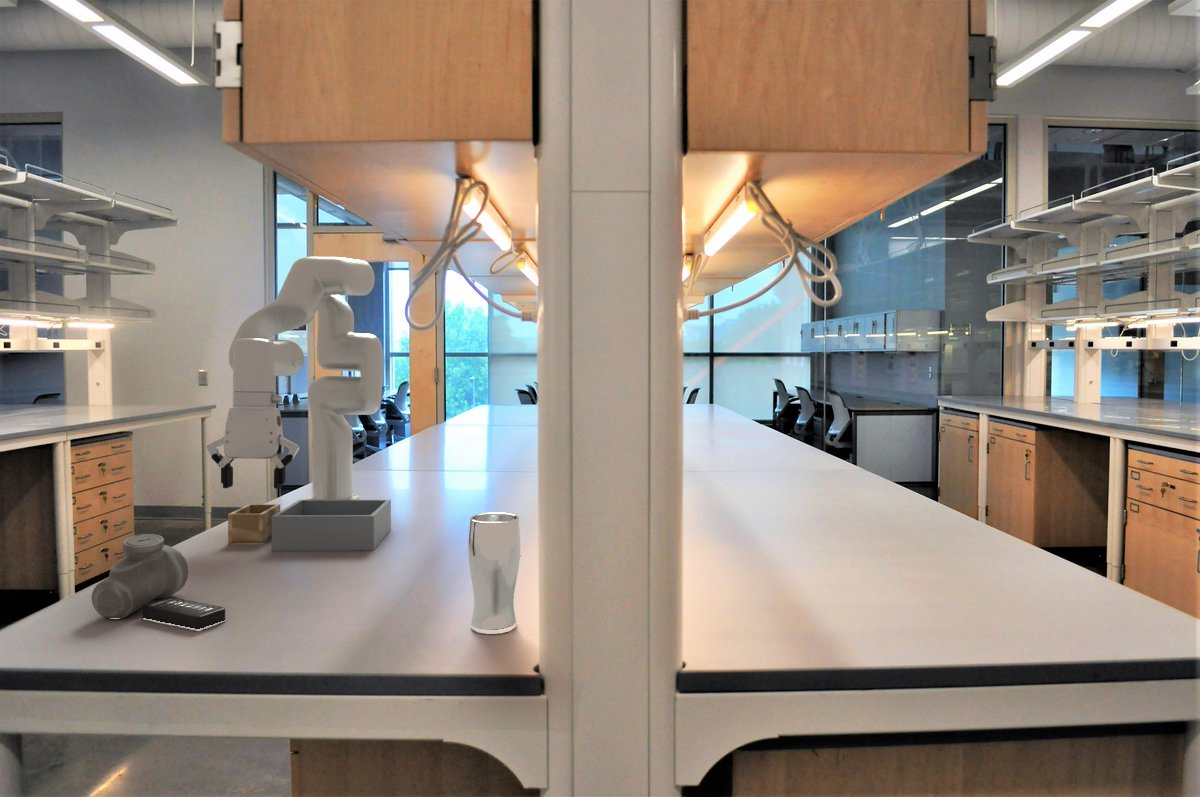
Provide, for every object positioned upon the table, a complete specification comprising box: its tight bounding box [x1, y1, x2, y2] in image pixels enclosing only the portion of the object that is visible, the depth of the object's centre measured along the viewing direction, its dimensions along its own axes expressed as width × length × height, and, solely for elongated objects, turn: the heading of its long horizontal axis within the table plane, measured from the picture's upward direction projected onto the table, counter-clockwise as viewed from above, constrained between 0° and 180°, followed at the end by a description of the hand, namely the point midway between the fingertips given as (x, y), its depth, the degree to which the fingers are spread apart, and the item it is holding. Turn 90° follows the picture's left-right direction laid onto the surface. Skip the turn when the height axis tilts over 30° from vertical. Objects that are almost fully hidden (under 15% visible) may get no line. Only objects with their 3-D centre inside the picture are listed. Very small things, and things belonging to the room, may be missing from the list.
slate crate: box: [271, 499, 392, 552], centre depth 147 cm, size 17×19×6 cm
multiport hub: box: [141, 596, 226, 629], centre depth 101 cm, size 4×11×2 cm, turn 68°
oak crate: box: [227, 503, 281, 545], centre depth 147 cm, size 10×6×6 cm, turn 5°
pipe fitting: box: [90, 533, 189, 619], centre depth 105 cm, size 12×8×10 cm
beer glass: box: [467, 512, 521, 630], centre depth 100 cm, size 7×7×15 cm
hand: (253, 487), depth 146 cm, fingers open, 9 cm apart
